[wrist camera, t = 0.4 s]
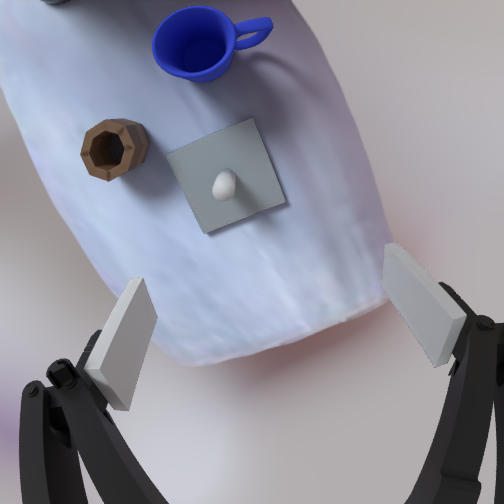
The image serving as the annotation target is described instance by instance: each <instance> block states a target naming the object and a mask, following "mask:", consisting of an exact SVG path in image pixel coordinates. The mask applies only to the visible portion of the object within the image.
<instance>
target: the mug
mask: <svg viewBox="0 0 504 504" xmlns="http://www.w3.org/2000/svg"><path fill="white" fill-rule="evenodd" d="M272 29H273V23H272V21H271V19H270V18H269V17H264V18H257V19H253V20H248V21H244V22H241V23H238V24H235V25H233V23H232V22H231V20H230V19H229V18H228V17H227V16H226V15H225V14H224V13H222V12H221V11H219V10H217V9H214V8H211V7H207V6H191V7H186V8H183V9H180V10H178V11H176V12H174V13H172V14H171V15H169V16H168V17H167V18H166V19H165V20H164V21H163V22H162V23H161V24H160V25H159V27H158V28H157V30H156V32H155V34H154V37H153V41H152V51H153V55H154V58H155V60H156V62H157V63H158V65H159V66H160V67H161V68H162V69H163V70H164V71H166V72H167V73H169V74H171V75H174V76H177V77H180V78H183V79H187V80H190V81H194V82H209V81H212V80H215V79H217V78H219V77H220V76H221V75H223V74H224V73H225V72H226V70H227V69H228V68H229V66H230V63H231V60H232V56H233V53H234V50H242V49H247V48H250V47H253V46H256V45H258V44H260V43H261V42H262V41H264V40H265V39H266V38H267V36H268V35H269V34H270V32H271V31H272ZM257 31H259V32H258V33H257V34H255V35H254V36H252V37H250V38H247V39H244V40H241V41H236V40H237V39H238V37H240V36H242V35H244V34H248V33H252V32H257Z"/></svg>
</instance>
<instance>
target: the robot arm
mask: <svg viewBox="0 0 504 504" xmlns="http://www.w3.org/2000/svg"><path fill="white" fill-rule="evenodd" d="M41 1H43V2H46V3H48V4H61V3H65V2H67V1H70V0H41ZM381 287H382V289H383V290H384V292H385V293H386V294H387V296H388V297H389V299H390V300H391V302H392V303H393V304H394V306H395V307H396V309H397V310H398V312H399V313H400V315H401V316H402V318H403V319H404V321H405V322H406V324H407V325H408V327H409V328H410V330H411V331H412V333H413V334H414V336H415V337H416V339H417V340H418V342H419V344H420V345H421V347H422V348H423V350H424V352H425V353H426V355H427V356H428V358H429V360H430V361H431V363H432V365H433V366H434V368H435V367H438V366H441V365H443V364H446V363H448V361H449V359H450V357H451V354H453V355H454V357H455V358H456V360H455V362H454V364H453V366H452V368H451V370H450V372H449V374H448V375H449V376H450V375H451V378H450V383H449V387H448V391H447V395H446V399H445V403H444V407H443V410H442V414H441V417H440V421H439V424H438V427H437V430H436V433H435V436H434V439H433V442H432V445H431V447H430V451H429V453H428V456H427V458H426V460H425V463H424V465H423V468H422V470H421V473H420V475H419V477H418V480H417V482H416V484H415V486H414V488H413V491H412V493H411V495H410V496H409V498H408V499H407V500H406V502H405V503H404V504H477V501H478V498H479V495H480V492H481V483H480V482H479V481H478V474H479V471H480V467H481V463H482V460H483V456H484V451H485V447H486V442H487V438H488V432H489V427H490V421H491V414H492V408H493V400H494V409H495V421H496V438H497V439H496V440H497V467H496V468H497V469H496V486H495V498H494V504H504V323H495V322H494V321H493V320H492V319H491V318H489V317H487V316H484V315H476V314H475V313H474V311H472V309H471V308H470V307H469V306H468V305H467V304H466V303H465V302H464V301H463V300H462V299H461V297H460V296H459V295H458V294H456V292H455V291H454V290H453V289H452V288H451V287H450V286H448V285H447V284H445V283H443V282H439V283H437V282H436V281H435V279H433V278H432V276H431V275H430V274H429V273H428V272H427V271H426V270H425V269H424V268H423V267H422V266H421V265H420V264H419V263H418V262H417V261H416V260H415V259H414V258H413V257H412V256H411V255H410V254H409V253H407V251H405V250H404V249H403V248H402V247H401V246H400V245H399V244H398V243H397V242H395V243H389V244H385V251H384V263H383V272H382V281H381ZM157 318H158V317H157V314H156V312H155V309H154V306H153V304H152V301H151V298H150V296H149V293H148V290H147V287H146V285H145V282H144V279H143V277H139V278H131V279H130V280H129V282H128V284H127V286H126V287H125V289H124V291H123V293H122V294H121V296H120V298H119V300H118V302H117V304H116V305H115V307H114V309H113V311H112V313H111V315H110V317H109V319H108V320H107V322H106V324H105V326H104V328H103V330H97V331H96V332H95V333H94V335H92V336H91V338H90V340H89V342H88V344H87V346H86V347H85V349H84V352H83V353H82V355H81V357H80V359H79V361H78V363H77V365H76V367H74V366H73V364H72V363H71V362H70V360H68V359H59V360H56V361H55V362H53V363H52V364H51V365H50V366H49V368H48V370H47V372H46V377H47V378H48V379H49V380H50V382H51V383H52V384H53V386H51V387H47V388H46V387H45V386H44V385H43V384H42V383H41V381H37V380H36V381H32V382H30V383H29V384H27V385H26V386H25V388H24V390H23V393H22V400H21V412H20V430H19V463H20V464H19V465H20V482H21V493H22V502H23V504H88V500H87V496H86V492H85V488H84V484H83V479H82V474H81V469H80V463H79V457H78V451H79V454H80V456H81V458H82V461H83V463H84V465H85V467H86V469H87V471H88V473H89V475H90V478H91V480H92V482H93V483H94V485H95V487H96V489H97V491H98V493H99V495H100V497H101V498H102V500H103V502H104V504H169V503H168V502H167V501H166V499H165V498H164V497H163V496H162V494H161V493H160V492H159V490H158V489H157V488H156V486H155V485H154V484H153V483H152V481H151V480H150V478H149V477H148V475H147V474H146V473H145V471H144V470H143V468H142V467H141V465H140V464H139V462H138V461H137V459H136V458H135V456H134V455H133V454H132V452H131V450H130V448H129V447H128V445H127V444H126V442H125V440H124V439H123V437H122V435H121V433H120V432H119V430H118V428H117V427H116V425H115V423H114V421H113V419H112V418H111V416H110V414H109V412H108V411H107V410H106V407H107V404H108V403H109V404H110V405H111V407H112V408H113V409H114V410H121V411H129V409H130V405H131V402H132V397H133V394H134V391H135V387H136V384H137V381H138V377H139V374H140V370H141V367H142V364H143V361H144V357H145V354H146V351H147V348H148V344H149V341H150V339H151V336H152V332H153V329H154V326H155V323H156V321H157ZM77 449H78V451H77Z"/></svg>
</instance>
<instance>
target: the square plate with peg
mask: <svg viewBox="0 0 504 504" xmlns="http://www.w3.org/2000/svg"><path fill="white" fill-rule="evenodd" d="M166 157H167V159H168V161H169V163H170V166H171V168H172V170H173V172H174V174H175V176H176V178H177V180H178V182H179V185H180V187H181V189H182V191H183V193H184V195H185V197H186V199H187V201H188V203H189V205H190V207H191V209H192V211H193V213H194V215H195V217H196V219H197V222H198V224H199V226H200V228H201V230H202V232H203V234H205V233H208V232H210V231H213V230H215V229H218V228H220V227H223V226H225V225H228V224H230V223H233V222H235V221H238V220H240V219H243V218H245V217H248V216H251V215H253V214H256V213H258V212H261V211H264V210H266V209H269V208H271V207H274V206H277V205H279V204H282V203H285V202H286V201H285V198H284V195H283V193H282V190H281V187H280V185H279V182H278V180H277V177H276V174H275V172H274V169H273V167H272V164H271V162H270V159H269V157H268V154H267V152H266V149H265V147H264V144H263V142H262V139H261V137H260V134H259V132H258V129H257V127H256V125H255V122H254V120H253V118H250V119H247V120H245V121H242V122H240V123H237V124H235V125H232V126H230V127H227V128H225V129H222V130H220V131H218V132H215V133H213V134H211V135H208V136H206V137H204V138H201V139H199V140H197V141H195V142H193V143H190V144H188V145H186V146H184V147H182V148H180V149H178V150H176V151H173V152H171V153H169V154H167V155H166Z"/></svg>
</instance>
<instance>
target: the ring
mask: <svg viewBox="0 0 504 504" xmlns="http://www.w3.org/2000/svg"><path fill="white" fill-rule="evenodd" d="M114 133H115V134H118V135H119V137H120V139H121V141H122V143H123V146H124V148H125V150H124V153H123V156H122V160H121V161H119V160H116V159H114V158H113V156H112V153H111V151H110V149H109V144H110V141H111V138H112V134H114ZM149 145H150V141H149V139H148V137H147V135H146V132H145V130H144V128H143V126H142V124H140V123H137V122H133V121H130V120H127V119H108V120H103V121H102V122H100V123H99V124H97V125H96V126H94V127H93V128H91V129H90V130H88V131H87V132H86V134H85V138H84V142H83V146H82V149H81V154H80V155H81V158H82V160H83V162H84V164H85V166H86V168H87V170H88V173H89V175H92V176H94V177H97V178H100V179H103V180H106V181H111V180H113V179H115V178H116V177H118V176H120V175H122V174H124V173H125V172H127V171H129V170H131V169H133V168H135V167H136V166H138V165H140V164H142V163H144V160H145V157H146V154H147V151H148V148H149Z"/></svg>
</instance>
